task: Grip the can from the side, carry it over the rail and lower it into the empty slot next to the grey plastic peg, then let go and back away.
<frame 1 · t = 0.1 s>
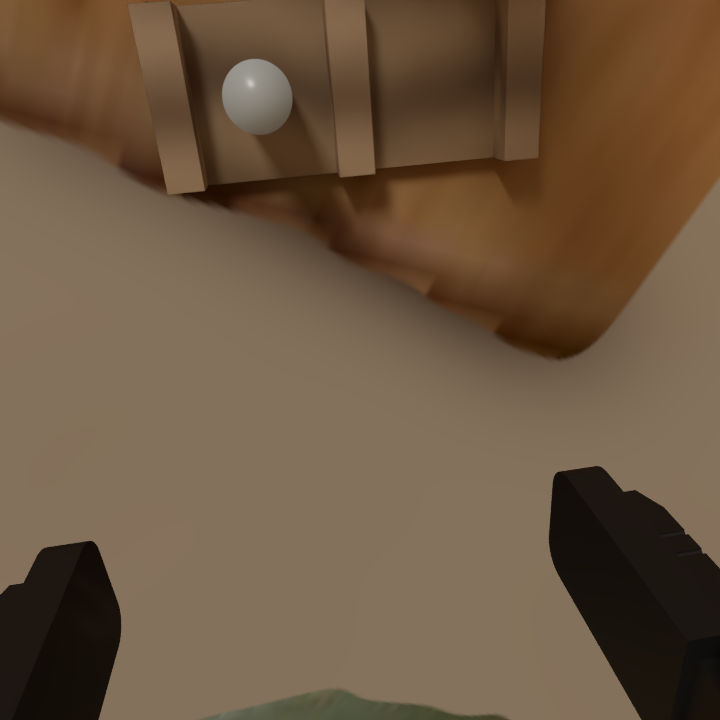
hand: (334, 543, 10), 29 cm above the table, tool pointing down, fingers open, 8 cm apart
rail: (345, 87, 34), on the table
grey peg: (262, 95, 33), point 1 cm above the table, touching rail
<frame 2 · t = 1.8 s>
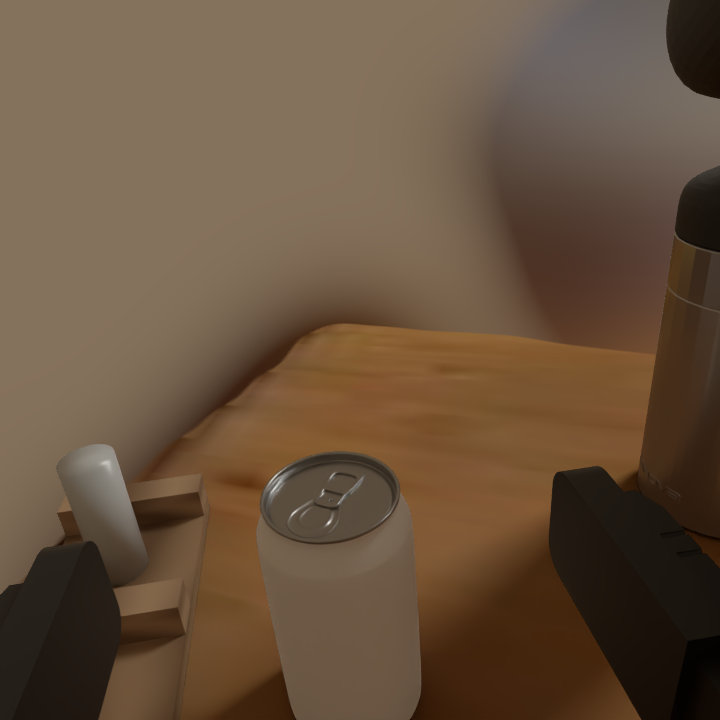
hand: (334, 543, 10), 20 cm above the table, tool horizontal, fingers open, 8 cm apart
rail: (108, 645, 32), on the table
can: (356, 690, 29), on the table
grey peg: (123, 567, 36), point 1 cm above the table, touching rail
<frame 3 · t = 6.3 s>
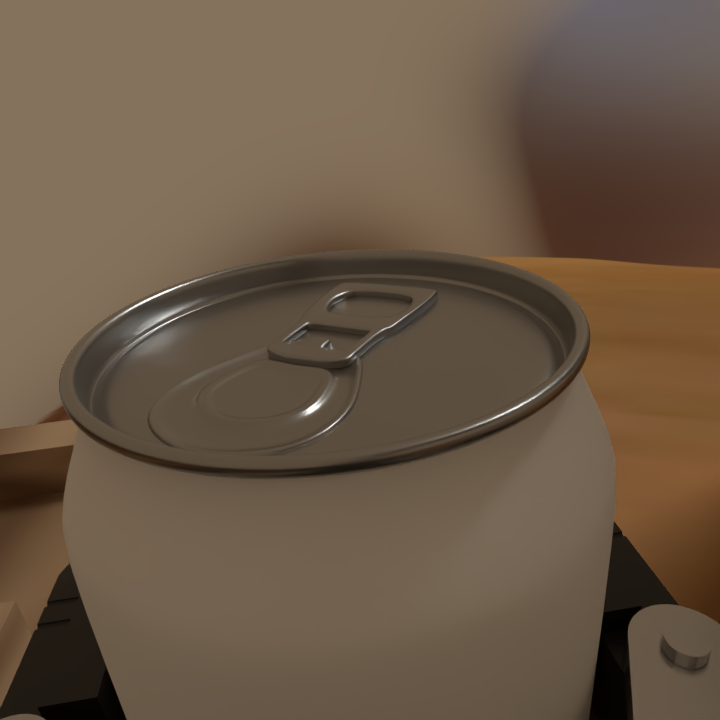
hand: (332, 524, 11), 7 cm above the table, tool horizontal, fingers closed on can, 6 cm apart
when the fingers open (9 cm above the table, at t = 13.0 s): can stays where it is, resting on rail.
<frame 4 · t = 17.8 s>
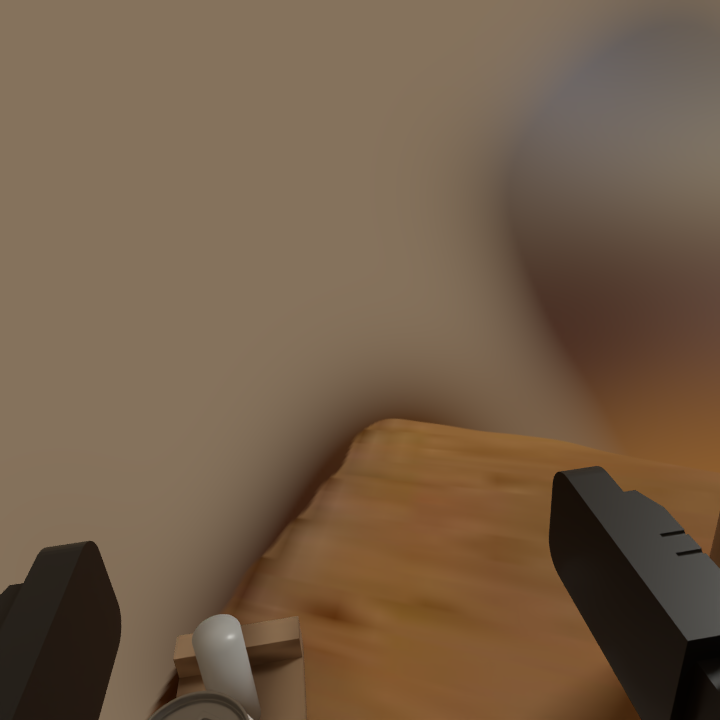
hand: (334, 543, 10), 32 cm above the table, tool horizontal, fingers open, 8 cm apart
grey peg: (238, 716, 40), point 1 cm above the table, touching rail
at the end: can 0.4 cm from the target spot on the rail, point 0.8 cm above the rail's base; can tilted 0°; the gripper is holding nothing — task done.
